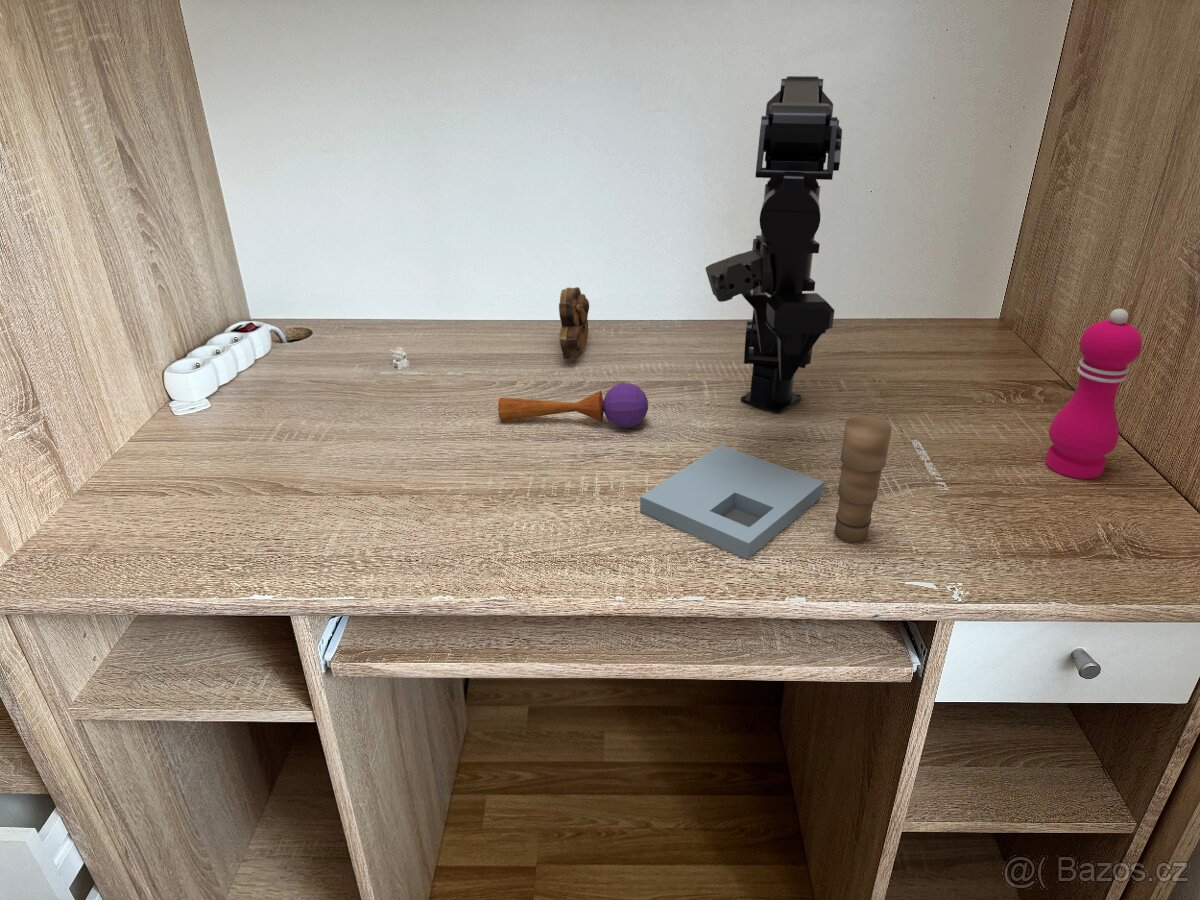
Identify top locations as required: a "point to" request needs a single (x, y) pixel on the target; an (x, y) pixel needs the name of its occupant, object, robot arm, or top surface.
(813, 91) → the robot arm
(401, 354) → the white figurine
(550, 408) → the kendama
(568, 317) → the wooden carving
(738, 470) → the seat board
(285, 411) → the top surface
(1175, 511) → the top surface
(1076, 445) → the pepper mill
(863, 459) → the leg
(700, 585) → the top surface
